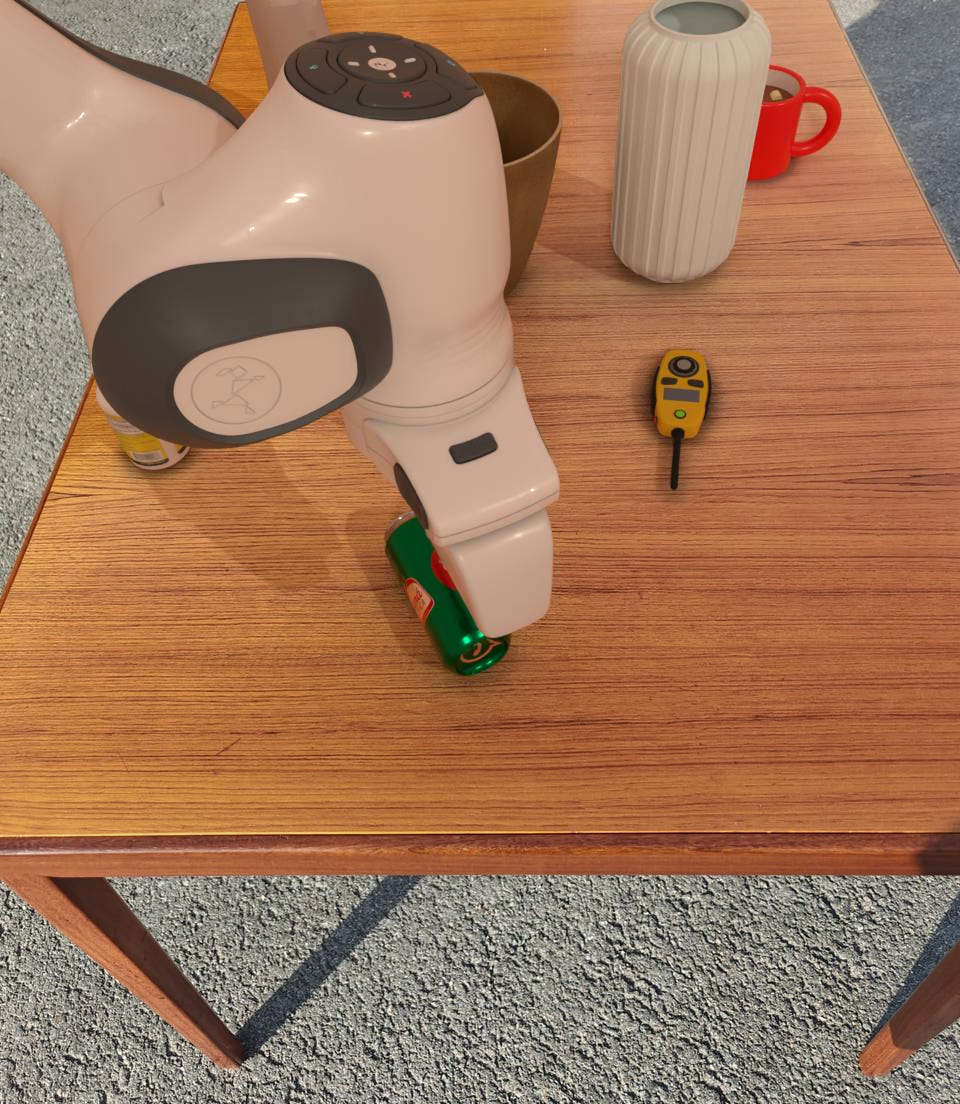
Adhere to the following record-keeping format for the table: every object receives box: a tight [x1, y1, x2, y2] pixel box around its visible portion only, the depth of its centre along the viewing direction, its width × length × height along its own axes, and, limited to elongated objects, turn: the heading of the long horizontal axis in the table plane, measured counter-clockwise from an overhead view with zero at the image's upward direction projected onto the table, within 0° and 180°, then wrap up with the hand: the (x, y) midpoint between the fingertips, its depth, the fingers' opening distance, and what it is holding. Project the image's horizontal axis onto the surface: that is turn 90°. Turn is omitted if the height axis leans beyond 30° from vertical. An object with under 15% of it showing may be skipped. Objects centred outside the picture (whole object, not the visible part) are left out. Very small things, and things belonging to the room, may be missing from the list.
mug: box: [747, 64, 843, 181], centre depth 94 cm, size 8×12×8 cm, turn 86°
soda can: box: [383, 509, 513, 677], centre depth 65 cm, size 5×5×12 cm
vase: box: [609, 0, 773, 284], centre depth 79 cm, size 12×12×22 cm
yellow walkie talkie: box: [650, 349, 712, 491], centre depth 75 cm, size 5×2×15 cm
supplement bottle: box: [90, 362, 191, 471], centre depth 74 cm, size 5×5×10 cm
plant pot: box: [466, 69, 564, 296], centre depth 82 cm, size 15×15×16 cm
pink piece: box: [244, 0, 332, 92], centre depth 94 cm, size 7×14×20 cm, turn 81°
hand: (449, 550), depth 57 cm, fingers closed
